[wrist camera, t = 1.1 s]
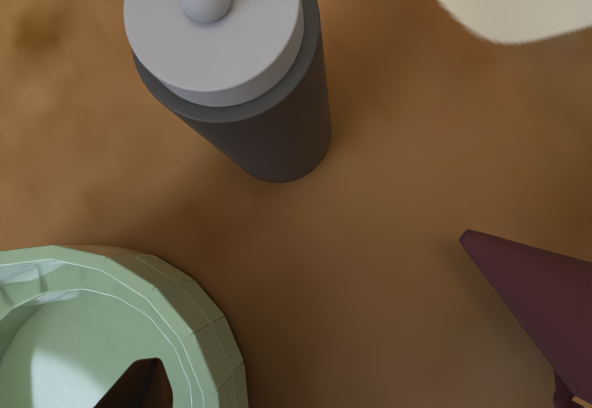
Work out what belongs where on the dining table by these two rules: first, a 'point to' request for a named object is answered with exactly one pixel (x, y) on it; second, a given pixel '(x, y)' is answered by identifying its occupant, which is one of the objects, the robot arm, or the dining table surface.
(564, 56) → the dining table surface
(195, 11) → the pepper mill
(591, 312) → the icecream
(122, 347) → the bowl
